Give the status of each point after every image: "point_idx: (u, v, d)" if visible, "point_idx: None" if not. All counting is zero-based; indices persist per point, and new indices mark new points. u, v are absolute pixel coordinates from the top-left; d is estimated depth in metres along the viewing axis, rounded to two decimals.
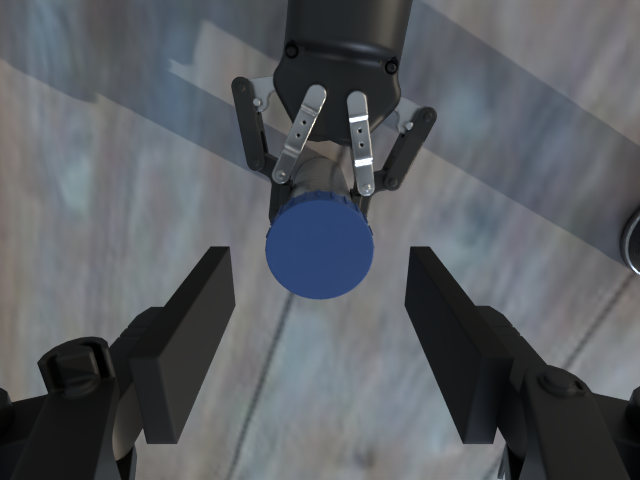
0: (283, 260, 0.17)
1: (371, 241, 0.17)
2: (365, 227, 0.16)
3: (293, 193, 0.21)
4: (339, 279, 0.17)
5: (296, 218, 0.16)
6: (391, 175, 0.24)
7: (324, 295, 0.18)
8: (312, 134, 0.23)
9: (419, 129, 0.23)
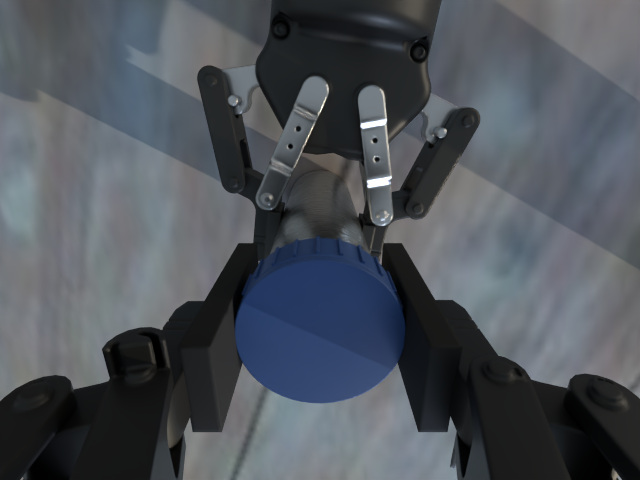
0: (262, 349, 0.11)
1: (402, 322, 0.10)
2: (393, 301, 0.10)
3: (282, 229, 0.15)
4: (349, 375, 0.11)
5: (282, 288, 0.10)
6: (415, 199, 0.18)
7: (327, 397, 0.11)
8: (309, 144, 0.17)
9: (455, 138, 0.17)
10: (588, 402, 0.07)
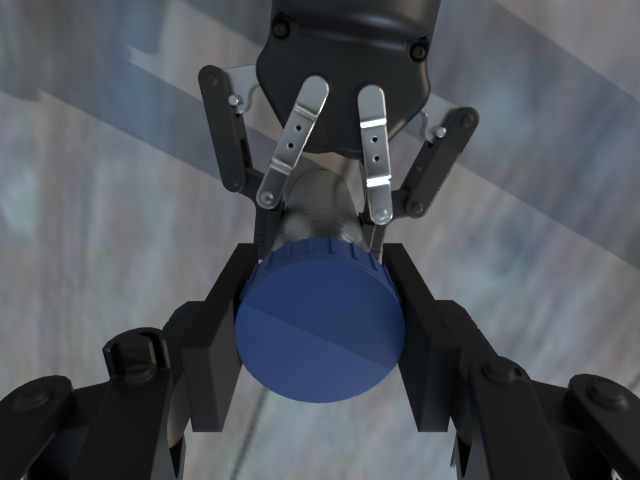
0: (351, 377, 0.11)
1: (270, 275, 0.10)
2: (252, 292, 0.10)
3: (283, 227, 0.15)
4: (355, 297, 0.10)
5: (281, 379, 0.11)
6: (415, 198, 0.18)
7: (393, 308, 0.10)
8: (309, 144, 0.17)
9: (455, 137, 0.17)
10: (588, 402, 0.07)
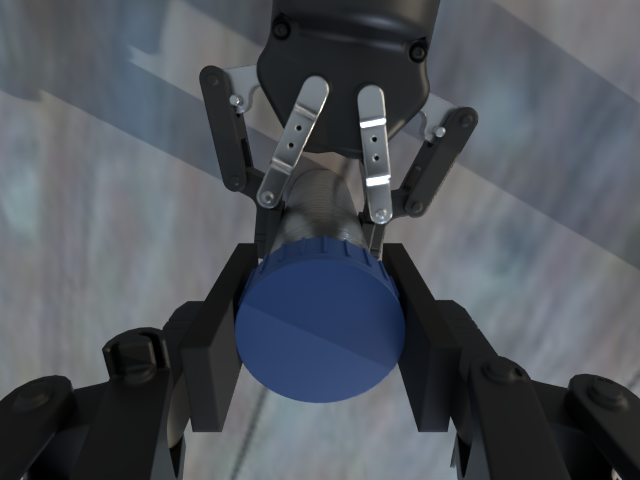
0: (357, 296, 0.10)
1: (273, 389, 0.11)
2: (295, 397, 0.11)
3: (283, 226, 0.15)
4: (264, 324, 0.10)
5: (382, 354, 0.11)
6: (414, 197, 0.18)
7: (260, 289, 0.10)
8: (310, 143, 0.17)
9: (454, 137, 0.17)
10: (588, 402, 0.07)
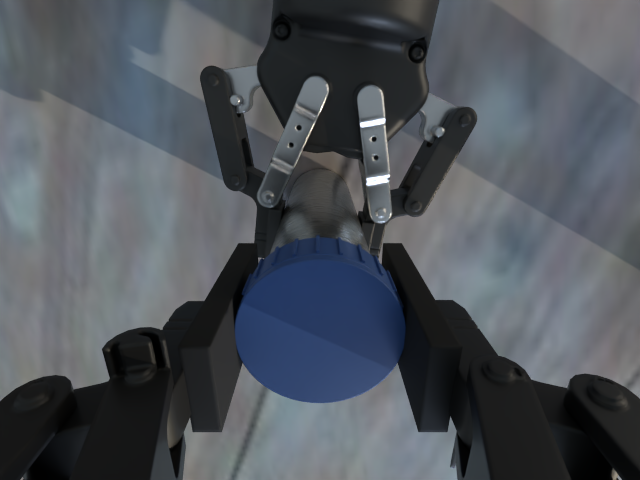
0: (261, 323, 0.10)
1: (397, 357, 0.11)
2: (402, 336, 0.10)
3: (283, 225, 0.15)
4: (323, 382, 0.11)
5: (317, 278, 0.10)
6: (414, 197, 0.18)
7: (290, 393, 0.11)
8: (310, 143, 0.18)
9: (453, 136, 0.17)
10: (588, 402, 0.07)
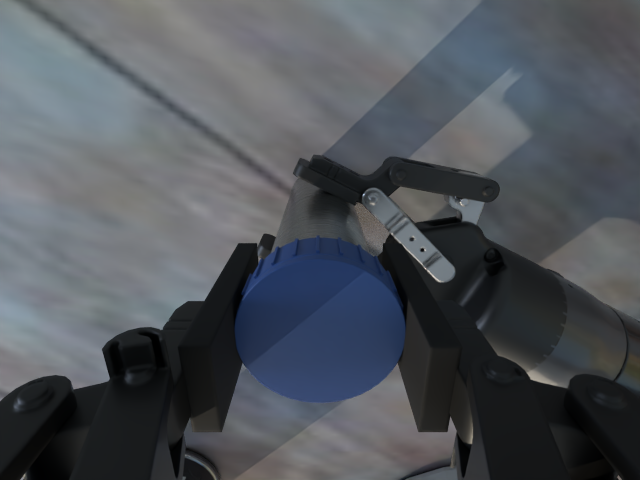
0: (261, 323, 0.10)
1: (397, 357, 0.11)
2: (402, 336, 0.10)
3: None
4: (323, 382, 0.11)
5: (317, 278, 0.10)
6: None
7: (290, 393, 0.11)
8: None
9: None
10: (588, 402, 0.07)
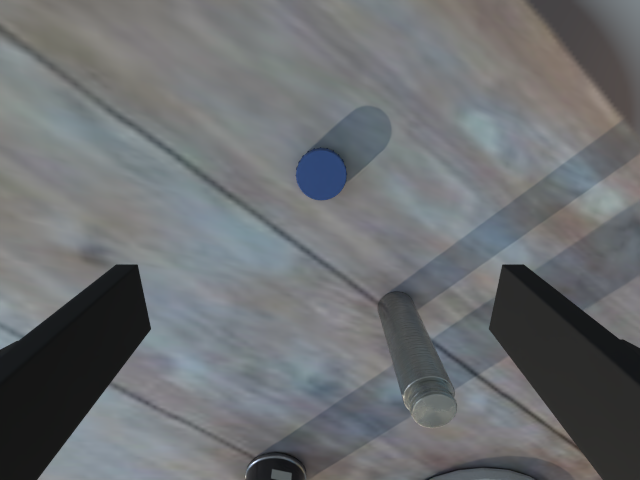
0: (304, 171, 0.36)
1: (344, 182, 0.36)
2: (345, 175, 0.36)
3: (440, 360, 0.33)
4: (322, 192, 0.37)
5: (320, 156, 0.35)
6: None
7: (312, 196, 0.37)
8: None
9: None
10: None
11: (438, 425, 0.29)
